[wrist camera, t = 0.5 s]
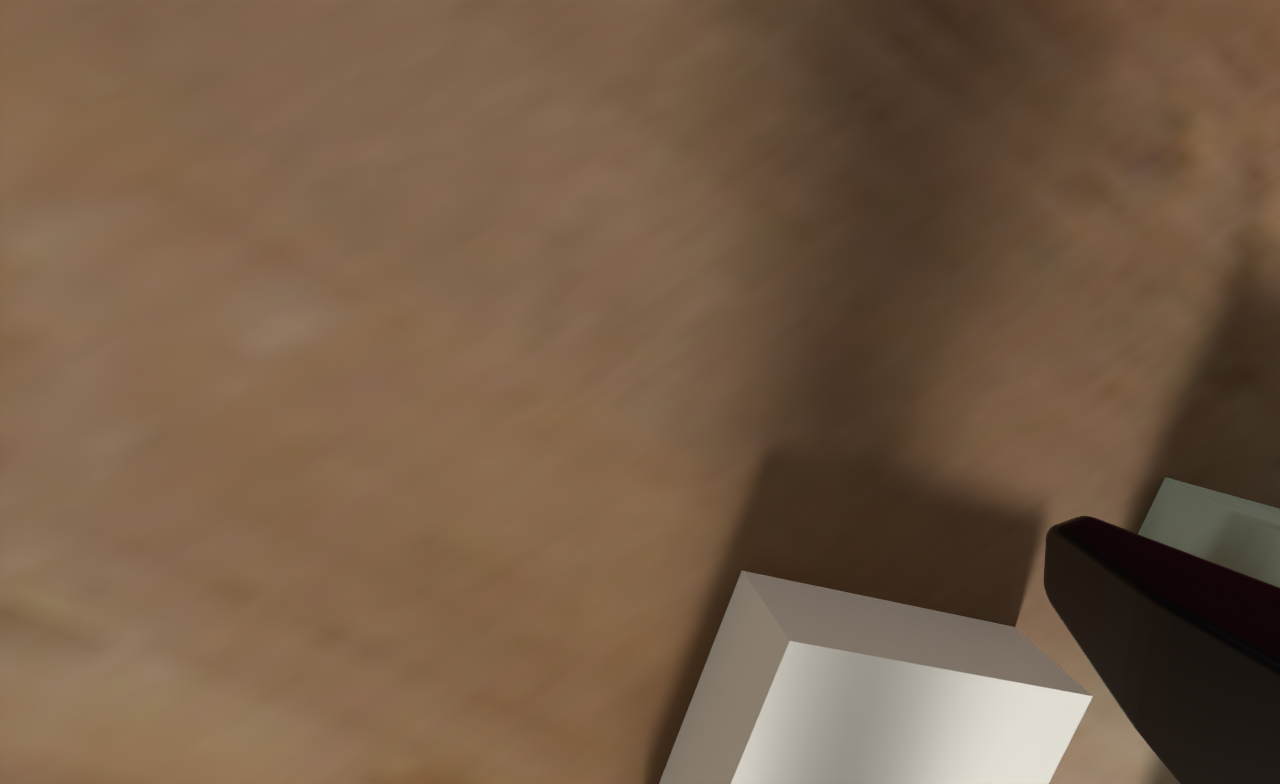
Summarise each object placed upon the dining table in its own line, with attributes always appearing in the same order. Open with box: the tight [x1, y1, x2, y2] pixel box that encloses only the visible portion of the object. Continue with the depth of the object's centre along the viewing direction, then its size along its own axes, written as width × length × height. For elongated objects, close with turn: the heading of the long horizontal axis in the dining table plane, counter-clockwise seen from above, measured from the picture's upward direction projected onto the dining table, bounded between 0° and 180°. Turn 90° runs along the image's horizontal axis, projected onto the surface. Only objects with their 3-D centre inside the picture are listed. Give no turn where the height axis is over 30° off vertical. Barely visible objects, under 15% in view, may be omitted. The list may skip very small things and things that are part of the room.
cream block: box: [659, 571, 1093, 784], centre depth 28 cm, size 10×10×4 cm
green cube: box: [1138, 477, 1280, 587], centre depth 28 cm, size 6×6×6 cm
